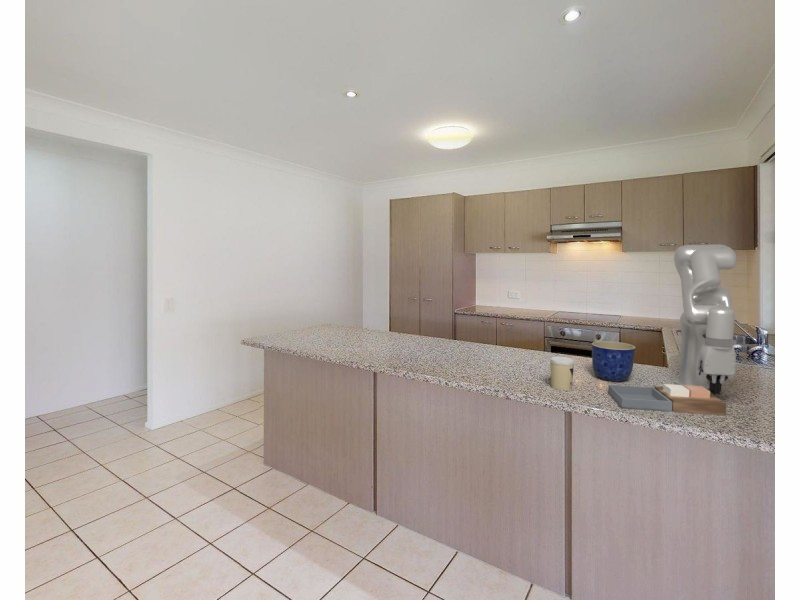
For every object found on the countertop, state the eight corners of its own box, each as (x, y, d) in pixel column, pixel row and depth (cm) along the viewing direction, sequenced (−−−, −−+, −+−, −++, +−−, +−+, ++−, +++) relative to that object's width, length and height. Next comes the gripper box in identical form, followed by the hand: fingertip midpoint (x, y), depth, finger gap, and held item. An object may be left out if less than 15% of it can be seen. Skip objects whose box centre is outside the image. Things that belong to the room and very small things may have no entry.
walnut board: (653, 396, 155) (654, 386, 155) (700, 399, 152) (701, 388, 151) (672, 411, 139) (673, 400, 139) (725, 415, 136) (726, 403, 136)
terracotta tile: (682, 391, 148) (683, 385, 148) (700, 392, 147) (701, 386, 147) (690, 397, 142) (691, 390, 142) (709, 398, 141) (710, 391, 141)
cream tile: (662, 390, 150) (663, 384, 149) (681, 391, 148) (681, 385, 148) (670, 395, 144) (670, 389, 143) (689, 397, 143) (689, 390, 142)
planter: (640, 385, 168) (642, 349, 167) (597, 383, 171) (598, 348, 169) (624, 374, 185) (626, 341, 183) (585, 372, 188) (586, 340, 186)
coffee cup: (575, 391, 161) (576, 362, 160) (551, 390, 163) (552, 361, 161) (570, 384, 170) (571, 356, 169) (547, 383, 172) (548, 356, 170)
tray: (608, 393, 158) (608, 385, 158) (653, 396, 155) (653, 387, 155) (621, 408, 143) (622, 398, 142) (671, 411, 140) (672, 401, 139)
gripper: (736, 341, 144) (732, 391, 146) (689, 340, 147) (686, 388, 148) (750, 345, 136) (745, 398, 138) (700, 344, 139) (696, 395, 141)
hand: (714, 393), depth 143 cm, fingers closed
